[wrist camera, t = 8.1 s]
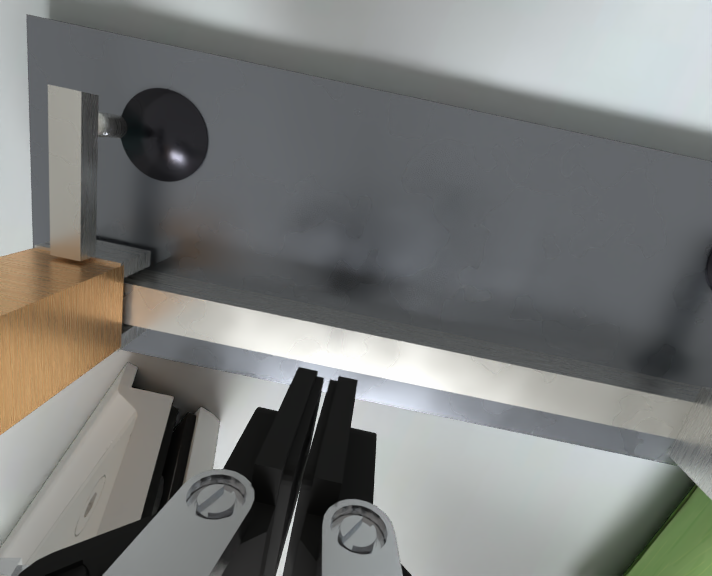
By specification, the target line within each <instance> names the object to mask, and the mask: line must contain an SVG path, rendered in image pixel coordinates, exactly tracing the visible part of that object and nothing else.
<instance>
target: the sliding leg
mask: <svg viewBox="0 0 712 576" xmlns="http://www.w3.org/2000/svg"><path fill="white" fill-rule="evenodd" d="M98 111H99V95H95V94H90V93H86V92H81V91H77V90H72V89H67V88H63V87H58V86H53V85H49V84H48V137H49V202H50V241H49V242H45V243H41V244H37V245H35V248H32V249H29V250H25V251H21V252H17V253H13V254H9V255H6V256H2V257H0V435H1V434H2V433H4V432H5V431H7V430H8V429H9V428H11V427H12V426H13V425H15V424H16V423H18V422H19V421H20V420H22V419H23V418H24V417H26V416H27V415H28V414H30V413H31V412H33V411H34V410H35V409H37V408H38V407H39V406H41V405H42V404H44V403H45V402H46V401H48V400H49V399H50V398H52V397H53V396H55V395H56V394H57V393H59V392H60V391H61V390H63V389H64V388H65V387H67V386H68V385H70V384H71V383H72V382H74V381H75V380H76V379H78V378H79V377H81V376H82V375H83V374H85V373H86V372H87V371H89V370H90V369H92V368H93V367H94V366H96V365H97V364H98V363H100V362H101V361H102V360H104V359H105V358H107V357H108V356H109V355H111V354H112V353H113V352H115V351H116V352H118V351H119V350H121V349H122V348H123V347H125V346H126V345H128V344H129V343H130V342H132V341H133V340H134V339H136V338H137V337H138V336H140V335H141V334H142V333H144V332H145V331H146V329H147V328H142V327H137V326H132V325H128V324H123V323H122V308H123V282H124V278H125V277H127V276H129V275H132V274H134V273H136V272H138V271H140V270H142V269H144V268H147V267H149V266H150V261H151V251H148V250H144V249H139V248H134V247H129V246H125V245H120V244H115V243H110V242H106V241H101V240H96V222H97V167H98V137H106V138H122V137H124V136H125V135H126V133H127V123H126V121H125V120H124V119H123V118H122V117H121V116H119V115H116V114H110V113H104V112H98Z"/></svg>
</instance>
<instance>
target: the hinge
mask: <svg viewBox="0 0 712 576" xmlns="http://www.w3.org/2000/svg"><path fill="white" fill-rule="evenodd" d="M137 369H138V367H137V366H135V365H132V364H130V363H128V362H127V364H126V365H125V367H124V368H123V370H122V371H121V372H120V374H119V375H118V377H117V378H116V380H115V381H114V383H113V384H112V386H111V387H110V388H109V390H108V391H107V393H106V394H105V396H104V397H103V399H102V400H101V402H100V403H99V405H98V406H97V407H96V409H95V410H94V412H93V413H92V415H91V416H90V418H89V419H88V421H87V422H86V424H85V425H84V426H83V428H82V429H81V431H80V432H79V434H78V435H77V437H76V438H75V440H74V441H73V443H72V444H71V445H70V447H69V448H68V450H67V451H66V453H65V454H64V456H63V457H62V459H61V460H60V461H59V463H58V464H57V466H56V467H55V469H54V470H53V472H52V473H51V475H50V476H49V478H48V479H47V480H46V482H45V483H44V485H43V486H42V488H41V489H40V491H39V492H38V494H37V495H36V497H35V498H34V499H33V501H32V502H31V504H30V505H29V507H28V508H27V510H26V511H25V513H24V514H23V516H22V517H21V518H20V520H19V521H18V523H17V524H16V526H15V527H14V529H13V530H12V532H11V533H10V534H9V536H8V537H7V539H6V540H5V542H4V543H3V545H2V546H1V548H0V558H22V565H31V564H32V563H34V562H35V561H37V560H38V559H40V558H42V557H44V556H47V555H49V554H51V553H53V552H55V551H58V550H61V549H63V548H66V547H69V546H71V545H74V544H77V543H79V542H82V541H85V540H87V539H90V538H92V537H95V536H98V535H100V534H103V533H106V532H108V531H111V530H114V529H116V528H119V527H122V526H124V525H127V524H130V523H132V522H135V521H138V520H140V519H143V518H146V517H148V516H151V515H154V514H156V513H158V512H159V511H160V510H161V509H162V508H163V507H164V506H165V505H166V503H167V502H168V501H169V500H170V499H171V498H172V497H173V496H174V495H175V493H176V492H177V491H178V490H179V489H180V488H181V487H182V486H183V484H184V483H186V482H187V481H188V480H189V479H190V478H191V477H193V476H195V475H197V474H199V473H201V472H204V471H208V470H213V466H214V459H215V452H216V446H217V439H218V433H219V426H220V421H219V420H218V419H217V418H216V417H215V416H214V414H212V413H211V412H209V411H207V410H206V409H204V408H202V407H200V408H199V409H198V411H197V412H196V413H195V414H192V413H189V412H188V413H187V415H186V416H185V417H184V418H183V420H182V421H181V422H180V424H179V425H178V426H177V427H176V429H175V430H174V431H173V429H174V425H175V421H176V417H177V413H178V408H175V407H172V406H171V405H172V402H173V398H174V397H173V396H168V395H164V394H159V393H155V392H150V391H145V390H141V389H136V388H132V384H133V381H134V378H135V375H136V372H137Z"/></svg>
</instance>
